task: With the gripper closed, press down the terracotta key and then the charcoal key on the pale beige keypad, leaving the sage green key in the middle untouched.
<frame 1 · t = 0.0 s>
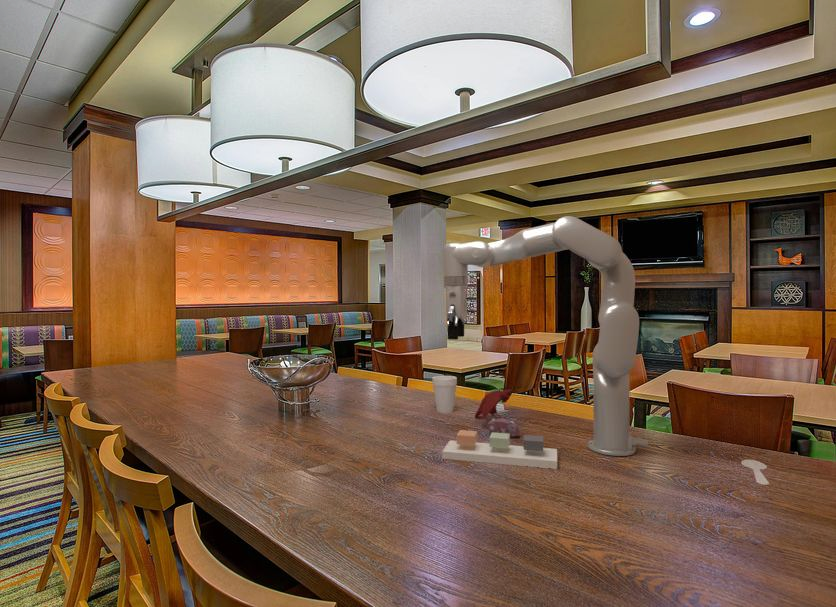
hand: (456, 337, 145), 31 cm above the table, tool pointing down, fingers open, 9 cm apart
decorative bird sculpture: (492, 419, 166), on the table
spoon: (757, 473, 115), on the table
terracotta key: (467, 437, 129), point 5 cm above the table, slide at 0.0 cm
charcoal key: (533, 442, 124), point 5 cm above the table, slide at 0.0 cm
keypad base: (499, 457, 126), on the table
foam cup: (444, 411, 178), on the table
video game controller: (503, 436, 146), on the table
sage key: (499, 440, 126), point 5 cm above the table, slide at 0.0 cm
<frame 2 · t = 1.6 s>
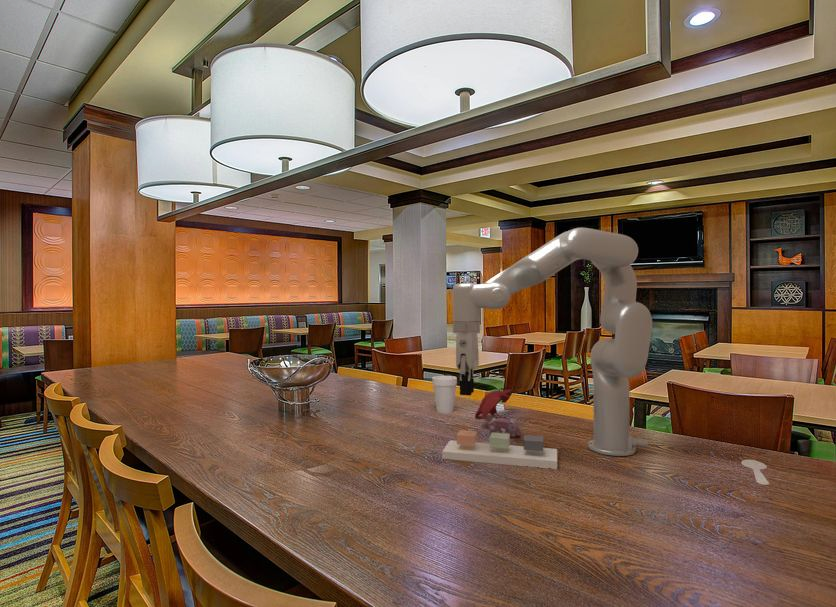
hand: (466, 393, 129), 17 cm above the table, tool pointing down, fingers closed
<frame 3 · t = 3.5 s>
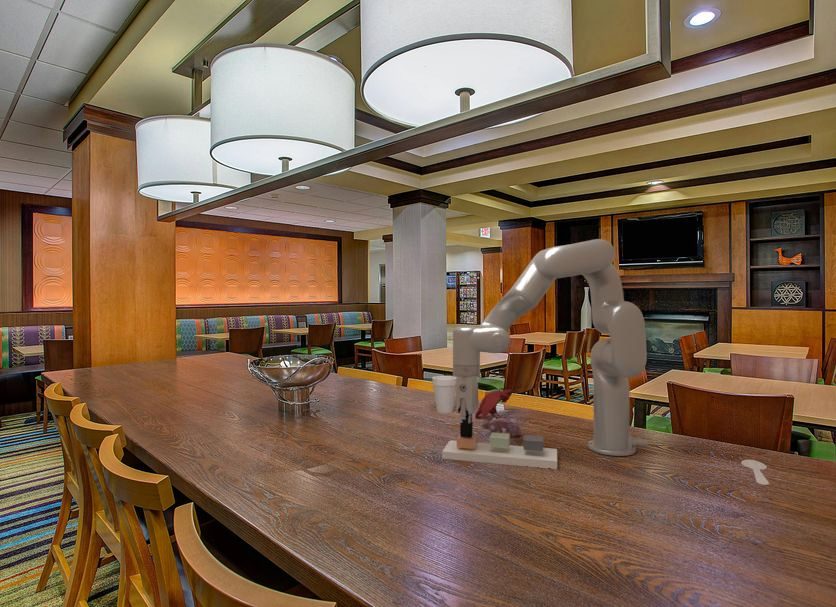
hand: (466, 436, 129), 5 cm above the table, tool pointing down, fingers closed
terracotta key: (467, 440, 129), point 4 cm above the table, slide at 0.9 cm, touching gripper
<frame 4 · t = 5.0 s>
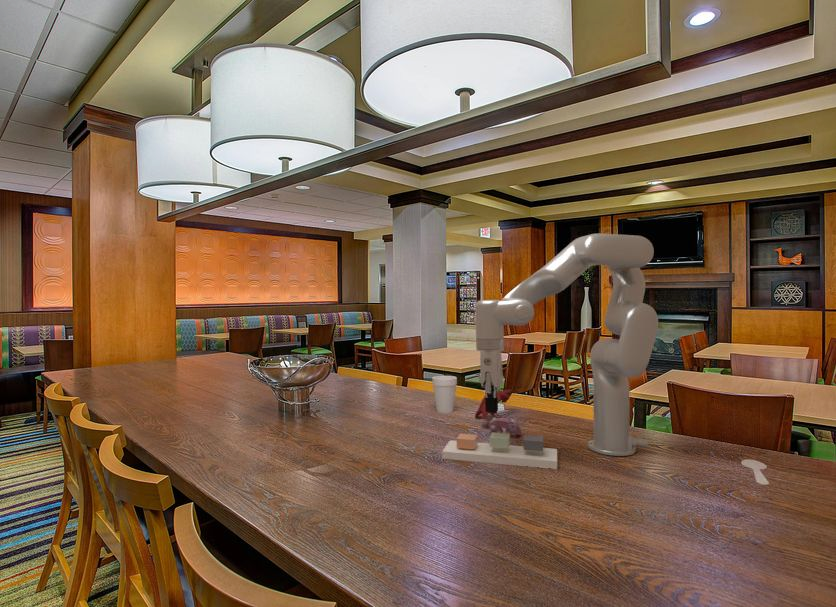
hand: (491, 411, 127), 12 cm above the table, tool pointing down, fingers closed
terracotta key: (467, 441, 129), point 4 cm above the table, slide at 1.0 cm
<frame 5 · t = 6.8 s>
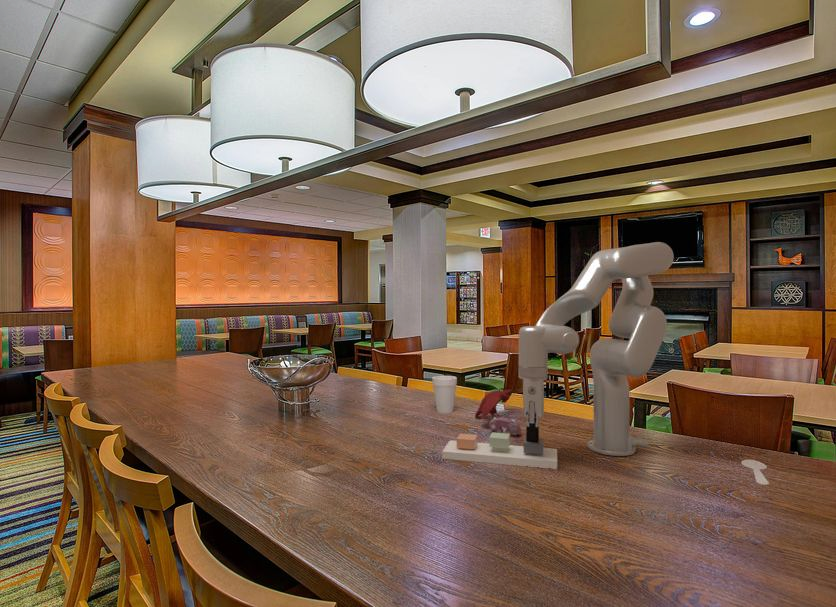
hand: (532, 440, 124), 5 cm above the table, tool pointing down, fingers closed
charcoal key: (533, 445, 124), point 4 cm above the table, slide at 0.8 cm, touching gripper
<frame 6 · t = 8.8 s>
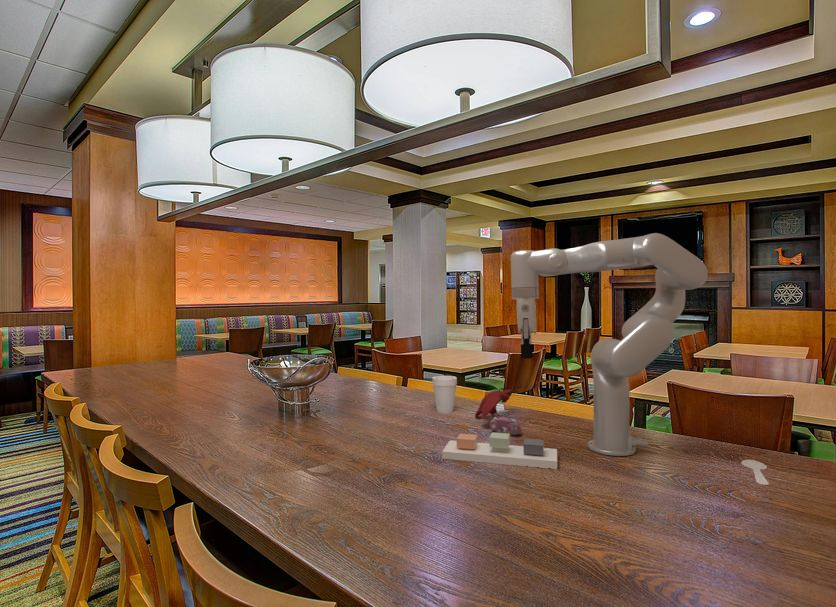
hand: (526, 357, 132), 26 cm above the table, tool pointing down, fingers closed
charcoal key: (533, 446, 124), point 4 cm above the table, slide at 1.0 cm
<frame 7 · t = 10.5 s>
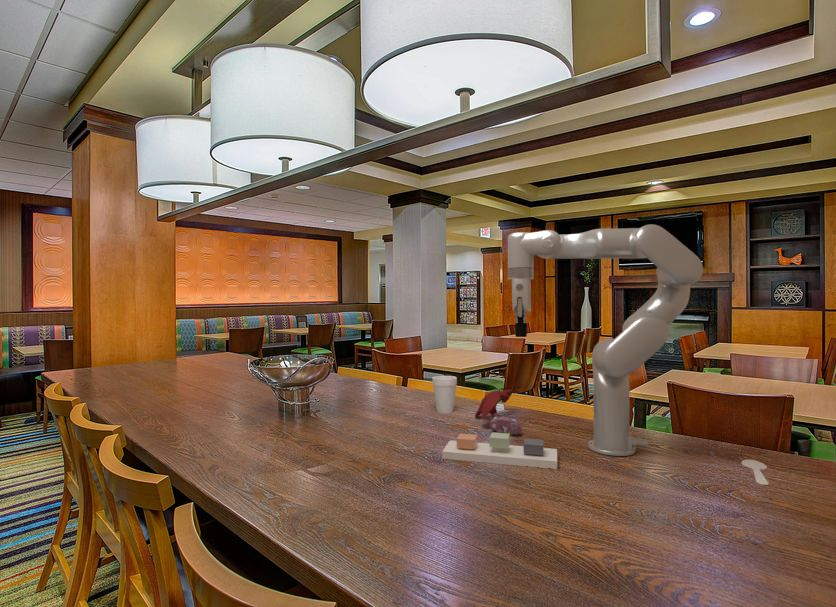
hand: (521, 336, 137), 32 cm above the table, tool pointing down, fingers closed
at the end: terracotta key slide at 1.0 cm; charcoal key slide at 1.0 cm; sage key slide at 0.0 cm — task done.
